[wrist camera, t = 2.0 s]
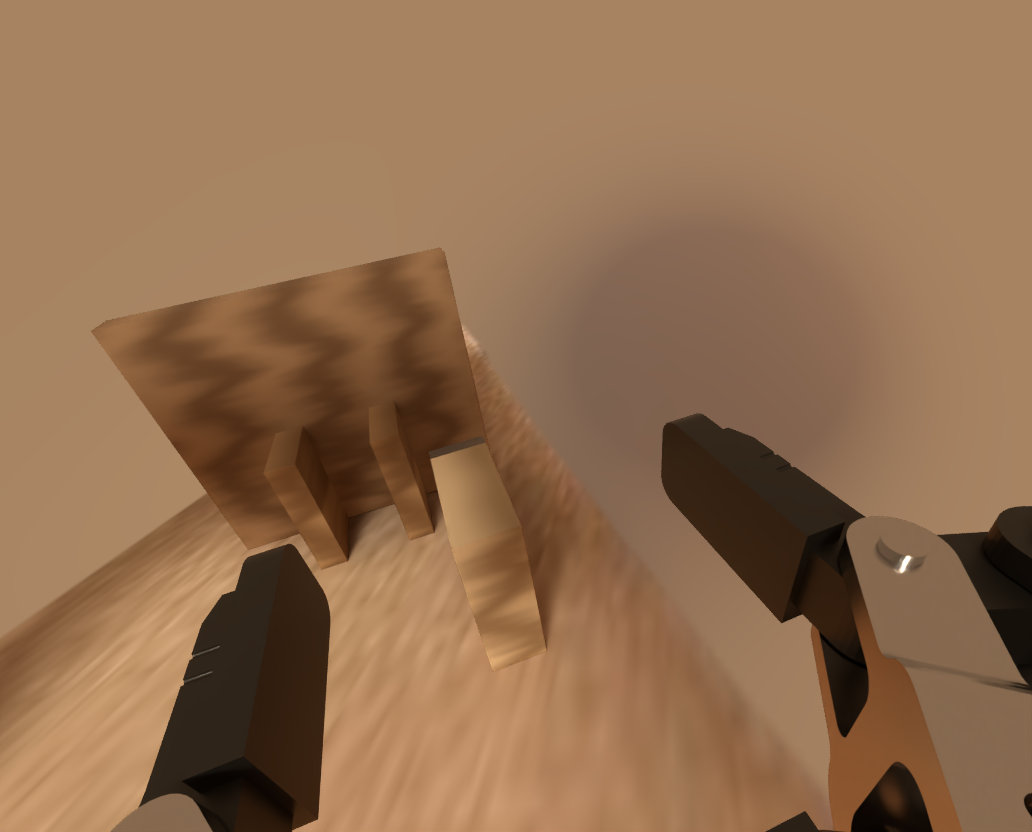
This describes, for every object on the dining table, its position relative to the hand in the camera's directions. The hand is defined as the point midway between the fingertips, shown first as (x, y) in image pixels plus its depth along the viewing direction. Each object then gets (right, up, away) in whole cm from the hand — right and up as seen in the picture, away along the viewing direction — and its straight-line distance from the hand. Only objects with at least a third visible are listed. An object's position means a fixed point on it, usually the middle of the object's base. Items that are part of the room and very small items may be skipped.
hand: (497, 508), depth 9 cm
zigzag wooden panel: (-12, -7, +29) cm, 32 cm away
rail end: (-1, -11, +20) cm, 23 cm away
